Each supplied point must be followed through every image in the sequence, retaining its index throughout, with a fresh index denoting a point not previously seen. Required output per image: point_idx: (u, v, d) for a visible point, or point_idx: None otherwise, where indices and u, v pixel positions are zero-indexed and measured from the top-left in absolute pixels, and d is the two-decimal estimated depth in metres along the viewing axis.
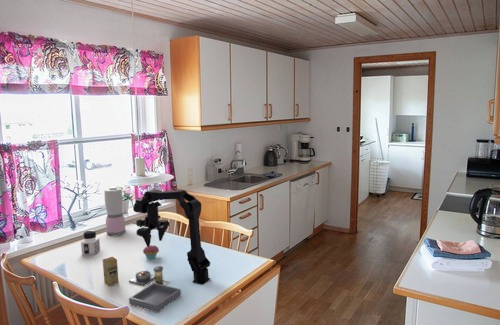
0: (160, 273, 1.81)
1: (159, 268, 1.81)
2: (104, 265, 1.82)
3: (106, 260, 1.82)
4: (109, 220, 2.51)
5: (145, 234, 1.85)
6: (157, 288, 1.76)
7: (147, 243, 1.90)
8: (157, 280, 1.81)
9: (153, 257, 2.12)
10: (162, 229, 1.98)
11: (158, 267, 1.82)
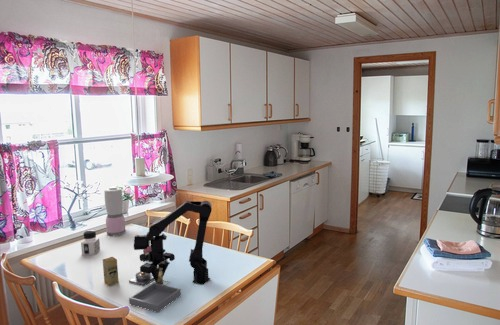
0: (160, 273, 1.81)
1: (159, 268, 1.81)
2: (104, 265, 1.82)
3: (106, 260, 1.82)
4: (109, 220, 2.51)
5: (149, 271, 1.72)
6: (157, 288, 1.76)
7: (155, 277, 1.80)
8: (157, 280, 1.81)
9: None
10: (163, 265, 1.83)
11: (158, 267, 1.82)
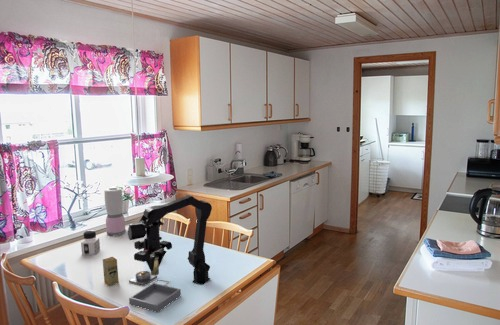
0: (156, 262, 1.69)
1: (155, 257, 1.69)
2: (104, 265, 1.82)
3: (106, 260, 1.82)
4: (109, 220, 2.51)
5: (143, 259, 1.60)
6: (157, 288, 1.76)
7: (150, 267, 1.68)
8: None
9: None
10: (160, 254, 1.71)
11: (154, 256, 1.71)
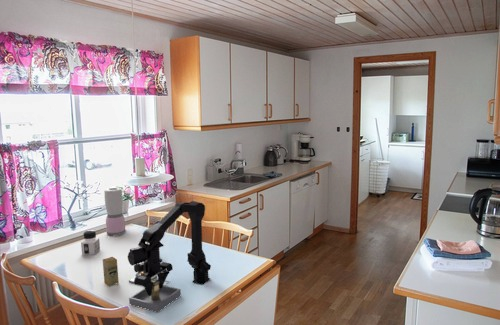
0: (156, 287, 1.65)
1: (155, 282, 1.66)
2: (104, 265, 1.82)
3: (106, 260, 1.82)
4: (109, 220, 2.51)
5: (144, 284, 1.56)
6: None
7: (148, 292, 1.63)
8: (153, 295, 1.65)
9: None
10: (163, 275, 1.69)
11: (154, 280, 1.67)
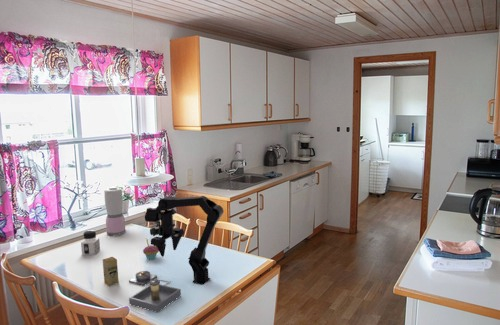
0: (157, 287, 1.65)
1: (156, 282, 1.66)
2: (104, 265, 1.82)
3: (106, 260, 1.82)
4: (109, 220, 2.51)
5: (160, 244, 1.76)
6: None
7: (161, 253, 1.82)
8: (153, 295, 1.65)
9: (153, 257, 2.12)
10: (176, 238, 1.90)
11: (154, 280, 1.67)
